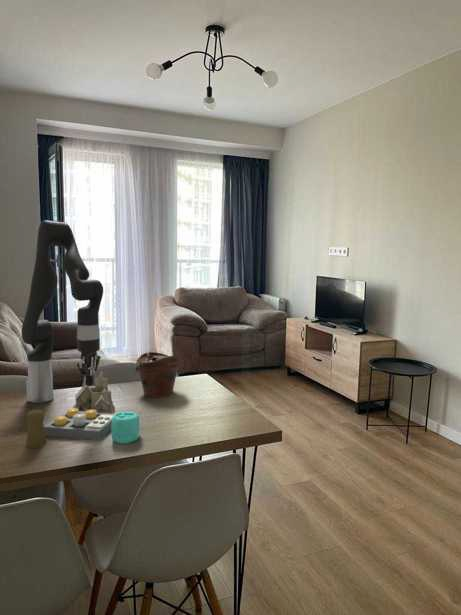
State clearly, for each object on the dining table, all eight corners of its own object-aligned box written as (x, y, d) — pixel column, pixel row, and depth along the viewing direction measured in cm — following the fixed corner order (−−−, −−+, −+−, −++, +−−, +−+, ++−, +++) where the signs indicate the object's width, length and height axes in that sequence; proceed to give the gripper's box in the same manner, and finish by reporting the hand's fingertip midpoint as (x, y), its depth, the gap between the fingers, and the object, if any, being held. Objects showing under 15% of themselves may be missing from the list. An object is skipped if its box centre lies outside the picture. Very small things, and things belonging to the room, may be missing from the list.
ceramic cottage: (76, 405, 181) (75, 369, 178) (117, 405, 183) (118, 370, 180) (66, 422, 165) (66, 383, 163) (112, 422, 167) (112, 383, 165)
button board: (43, 435, 151) (43, 424, 151) (68, 418, 167) (68, 408, 166) (99, 440, 148) (98, 429, 147) (119, 422, 163) (119, 412, 163)
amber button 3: (83, 421, 159) (82, 413, 159) (88, 417, 163) (88, 409, 163) (93, 422, 158) (93, 413, 158) (98, 418, 162) (98, 410, 162)
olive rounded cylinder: (30, 440, 147) (28, 407, 146) (49, 439, 148) (47, 407, 146) (23, 448, 141) (21, 414, 140) (43, 447, 142) (41, 414, 140)
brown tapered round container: (142, 385, 208) (142, 347, 206) (184, 387, 206) (184, 349, 203) (128, 398, 191) (127, 356, 188) (174, 400, 188) (174, 359, 186)
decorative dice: (136, 443, 145) (136, 419, 145) (111, 444, 145) (110, 420, 144) (139, 433, 153) (139, 411, 152) (115, 434, 153) (115, 411, 152)
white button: (71, 425, 151) (70, 417, 151) (77, 421, 155) (76, 413, 155) (82, 426, 150) (81, 418, 150) (88, 422, 154) (87, 414, 154)
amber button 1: (52, 428, 152) (51, 419, 152) (58, 424, 156) (58, 415, 156) (63, 429, 152) (62, 420, 151) (69, 424, 156) (69, 416, 155)
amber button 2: (64, 419, 160) (64, 411, 160) (70, 415, 164) (70, 407, 164) (75, 420, 160) (74, 412, 159) (80, 416, 163) (80, 408, 163)
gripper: (87, 333, 164) (88, 379, 166) (68, 340, 151) (70, 390, 153) (107, 334, 163) (107, 380, 165) (89, 341, 150) (90, 391, 152)
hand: (89, 385), depth 159 cm, fingers closed
